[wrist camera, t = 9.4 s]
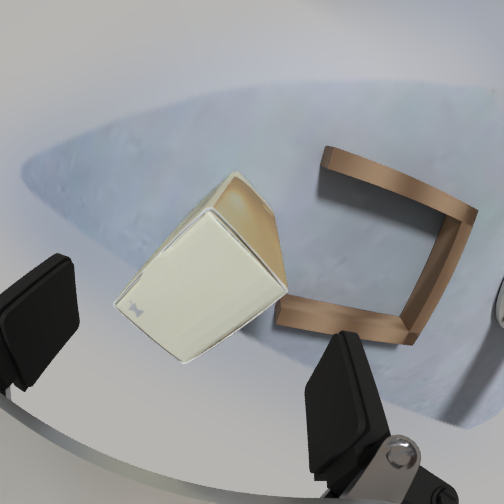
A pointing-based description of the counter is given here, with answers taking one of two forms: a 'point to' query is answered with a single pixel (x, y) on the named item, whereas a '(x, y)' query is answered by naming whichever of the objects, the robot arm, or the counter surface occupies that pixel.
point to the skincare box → (209, 273)
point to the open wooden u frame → (429, 284)
